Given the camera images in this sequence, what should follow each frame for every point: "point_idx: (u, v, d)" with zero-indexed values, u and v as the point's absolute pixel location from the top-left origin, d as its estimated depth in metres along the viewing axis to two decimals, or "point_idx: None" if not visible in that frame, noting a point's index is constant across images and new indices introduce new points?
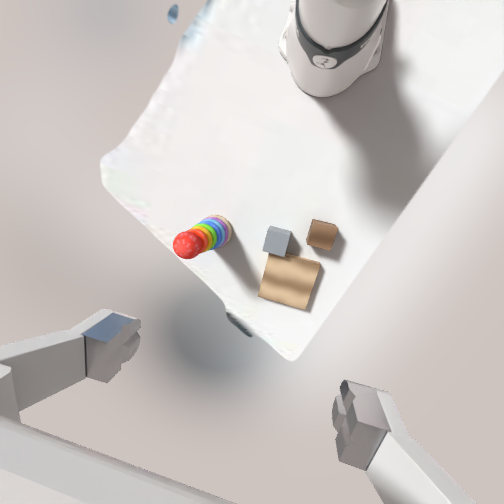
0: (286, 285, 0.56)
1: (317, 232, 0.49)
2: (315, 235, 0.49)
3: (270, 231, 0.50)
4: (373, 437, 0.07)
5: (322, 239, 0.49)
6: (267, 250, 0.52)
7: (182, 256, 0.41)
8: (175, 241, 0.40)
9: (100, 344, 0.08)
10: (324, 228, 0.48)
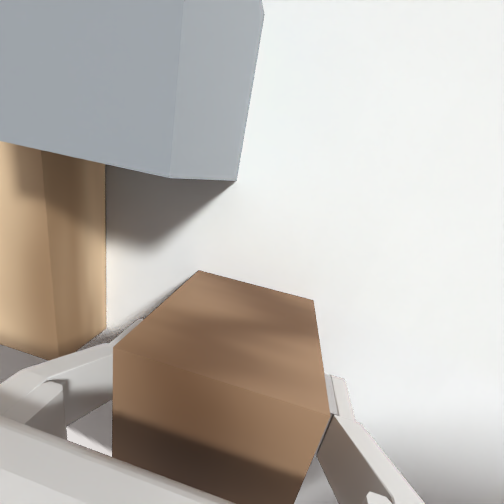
0: None
1: (231, 431, 0.05)
2: (209, 413, 0.05)
3: None
4: None
5: (179, 449, 0.06)
6: None
7: None
8: None
9: None
10: (267, 473, 0.06)
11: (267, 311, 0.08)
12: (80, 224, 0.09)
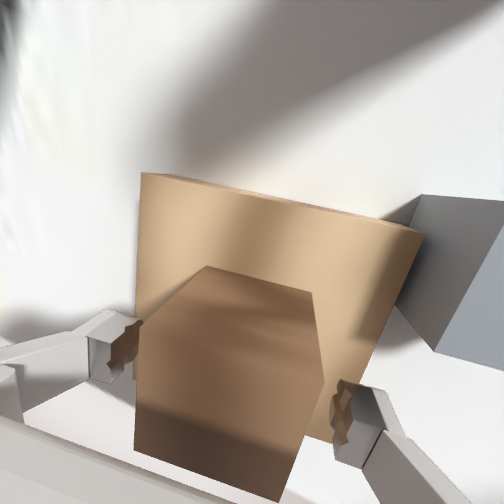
0: None
1: (240, 398, 0.06)
2: (221, 383, 0.06)
3: None
4: (369, 436, 0.07)
5: (195, 418, 0.07)
6: None
7: None
8: None
9: (104, 345, 0.08)
10: (271, 436, 0.07)
11: (270, 301, 0.09)
12: None
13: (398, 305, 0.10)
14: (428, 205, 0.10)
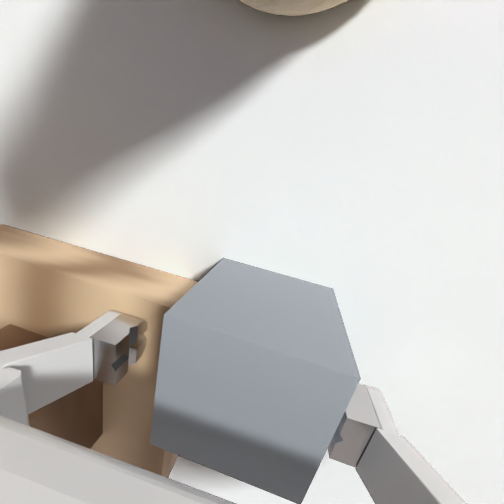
0: None
1: None
2: None
3: (340, 395, 0.06)
4: (362, 434, 0.07)
5: None
6: (174, 352, 0.06)
7: None
8: None
9: (109, 346, 0.08)
10: None
11: None
12: None
13: None
14: None
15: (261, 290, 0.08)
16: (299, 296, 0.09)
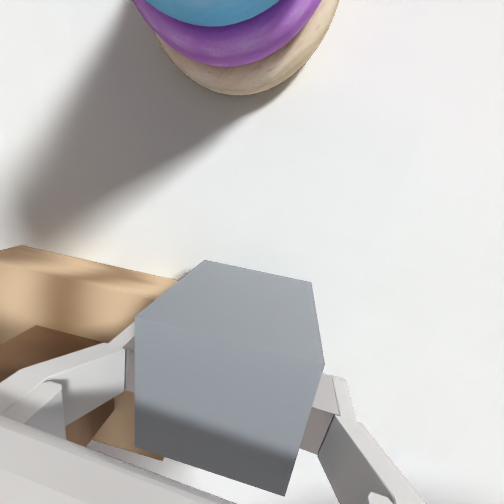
0: None
1: None
2: None
3: (308, 382, 0.06)
4: (322, 421, 0.07)
5: None
6: (148, 352, 0.06)
7: None
8: None
9: None
10: None
11: None
12: None
13: None
14: None
15: (237, 288, 0.09)
16: (275, 292, 0.09)
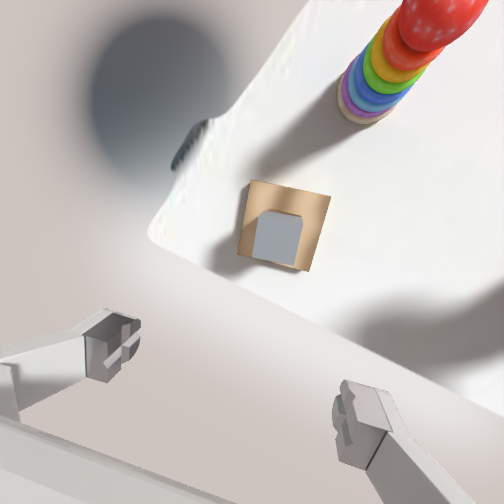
0: None
1: None
2: None
3: (299, 229, 0.26)
4: (373, 437, 0.07)
5: None
6: (260, 225, 0.26)
7: None
8: None
9: (100, 344, 0.08)
10: None
11: (289, 214, 0.33)
12: None
13: None
14: None
15: (279, 215, 0.28)
16: (290, 217, 0.29)
